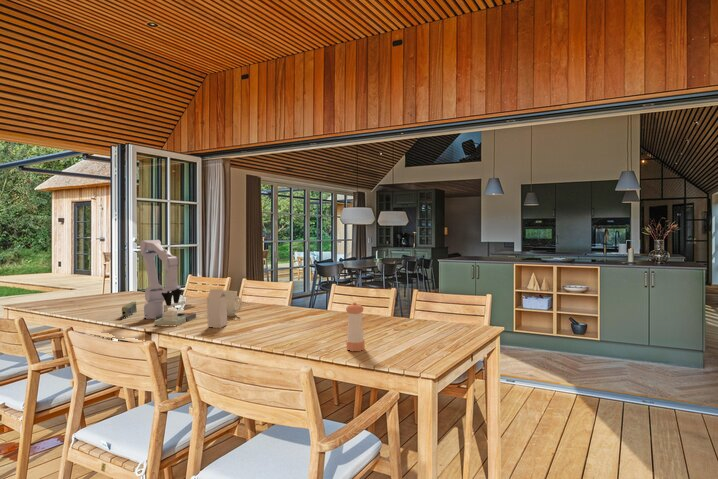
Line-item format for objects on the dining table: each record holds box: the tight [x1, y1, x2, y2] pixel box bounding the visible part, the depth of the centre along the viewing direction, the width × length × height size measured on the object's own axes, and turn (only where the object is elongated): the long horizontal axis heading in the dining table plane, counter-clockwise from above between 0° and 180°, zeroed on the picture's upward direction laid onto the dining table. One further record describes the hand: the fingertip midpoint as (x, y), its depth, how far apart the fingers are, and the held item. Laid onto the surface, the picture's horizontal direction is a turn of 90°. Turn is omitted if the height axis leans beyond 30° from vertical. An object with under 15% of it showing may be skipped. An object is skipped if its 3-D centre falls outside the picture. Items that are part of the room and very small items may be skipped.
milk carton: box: [206, 288, 228, 329], centre depth 235 cm, size 7×7×19 cm
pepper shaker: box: [345, 302, 366, 352], centre depth 187 cm, size 7×7×19 cm
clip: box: [163, 300, 186, 312], centre depth 262 cm, size 16×2×5 cm, turn 158°
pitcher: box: [223, 289, 243, 317], centre depth 264 cm, size 11×18×14 cm, turn 62°
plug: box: [162, 310, 179, 321], centre depth 243 cm, size 6×6×6 cm
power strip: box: [155, 311, 197, 322], centre depth 255 cm, size 18×10×3 cm, turn 83°
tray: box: [153, 317, 187, 326], centre depth 243 cm, size 12×10×3 cm
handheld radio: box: [119, 300, 138, 319], centre depth 268 cm, size 7×3×25 cm
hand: (172, 304), depth 247 cm, fingers open, 7 cm apart
